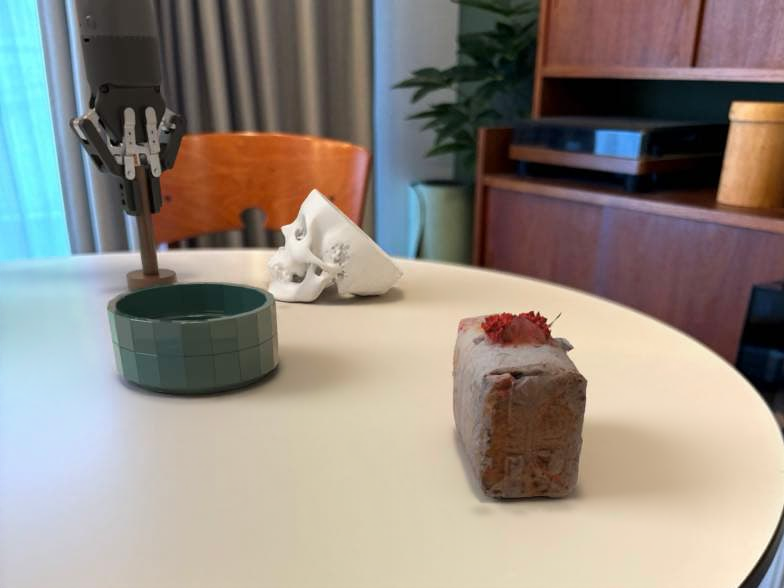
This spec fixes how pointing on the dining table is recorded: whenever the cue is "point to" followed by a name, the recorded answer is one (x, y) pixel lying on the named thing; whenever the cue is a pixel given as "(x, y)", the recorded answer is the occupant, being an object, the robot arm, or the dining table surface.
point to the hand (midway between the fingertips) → (142, 213)
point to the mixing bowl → (194, 336)
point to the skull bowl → (328, 256)
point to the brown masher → (147, 243)
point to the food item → (518, 405)
